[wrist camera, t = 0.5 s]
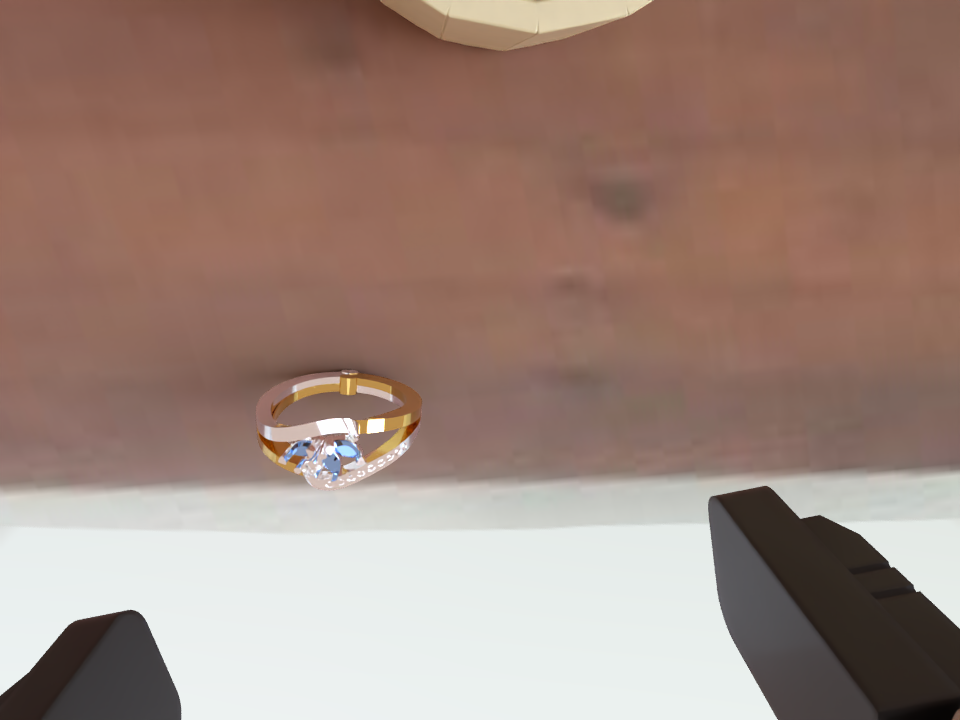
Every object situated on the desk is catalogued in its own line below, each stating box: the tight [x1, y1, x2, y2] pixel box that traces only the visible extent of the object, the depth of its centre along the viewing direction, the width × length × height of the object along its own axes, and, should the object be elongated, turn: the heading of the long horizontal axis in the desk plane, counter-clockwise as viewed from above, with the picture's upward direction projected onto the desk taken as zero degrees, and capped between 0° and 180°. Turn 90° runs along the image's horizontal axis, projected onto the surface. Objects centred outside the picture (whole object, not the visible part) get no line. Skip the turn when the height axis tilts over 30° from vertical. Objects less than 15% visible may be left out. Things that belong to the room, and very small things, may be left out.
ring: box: [256, 370, 422, 490], centre depth 28 cm, size 7×3×8 cm, turn 83°
